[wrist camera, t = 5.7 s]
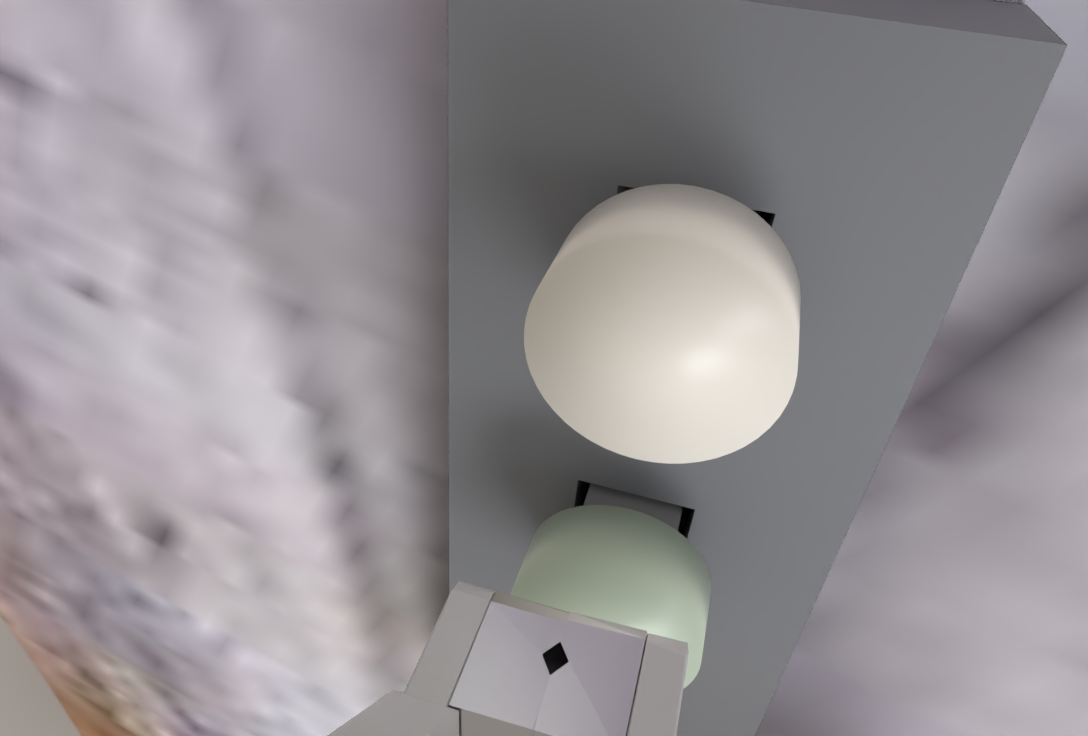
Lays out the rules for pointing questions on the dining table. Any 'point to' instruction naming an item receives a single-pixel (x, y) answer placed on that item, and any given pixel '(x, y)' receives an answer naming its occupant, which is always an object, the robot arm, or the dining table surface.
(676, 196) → the white round dome
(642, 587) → the sage button
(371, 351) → the dining table surface
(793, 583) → the console
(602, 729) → the robot arm
